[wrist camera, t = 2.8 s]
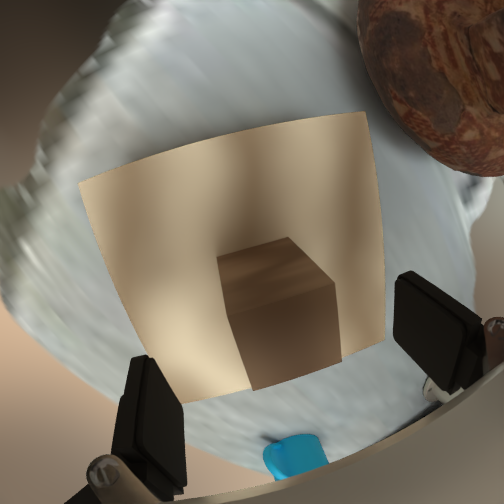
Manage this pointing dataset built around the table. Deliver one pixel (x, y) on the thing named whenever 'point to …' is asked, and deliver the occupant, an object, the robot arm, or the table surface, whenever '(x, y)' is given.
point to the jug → (441, 75)
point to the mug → (294, 456)
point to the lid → (247, 252)
